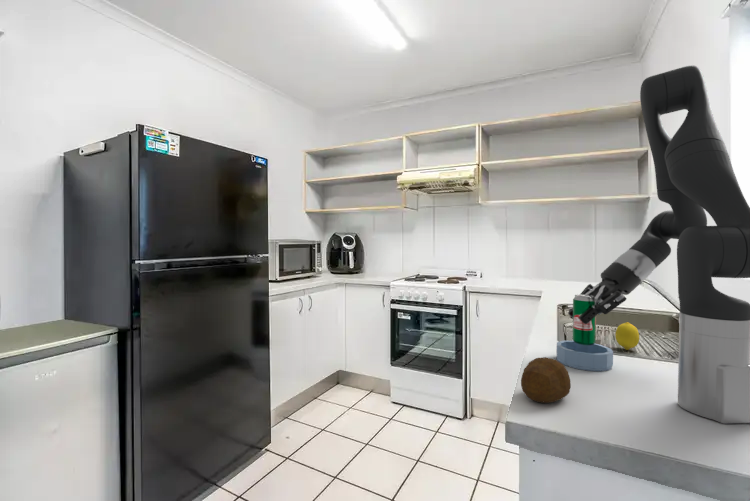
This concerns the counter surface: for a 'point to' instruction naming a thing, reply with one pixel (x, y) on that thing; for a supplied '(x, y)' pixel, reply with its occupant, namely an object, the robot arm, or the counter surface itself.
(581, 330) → the soda can
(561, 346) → the bowl
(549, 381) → the potato
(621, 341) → the lemon
